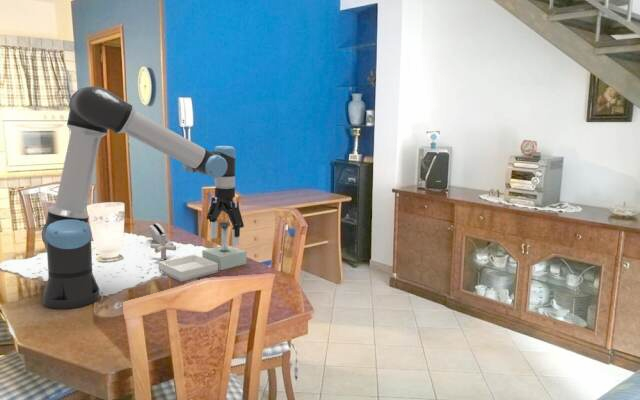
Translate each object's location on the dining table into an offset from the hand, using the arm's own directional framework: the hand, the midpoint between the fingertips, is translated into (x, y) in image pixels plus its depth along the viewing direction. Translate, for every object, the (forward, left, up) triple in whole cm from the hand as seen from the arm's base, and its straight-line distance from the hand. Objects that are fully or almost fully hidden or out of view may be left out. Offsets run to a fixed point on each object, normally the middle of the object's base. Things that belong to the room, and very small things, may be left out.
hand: (224, 241), depth 182 cm
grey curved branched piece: (-4, +41, -9) cm, 42 cm away
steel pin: (0, 0, -9) cm, 9 cm away
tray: (-16, 0, -9) cm, 18 cm away
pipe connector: (-15, +19, -9) cm, 26 cm away
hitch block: (0, 0, -9) cm, 9 cm away
